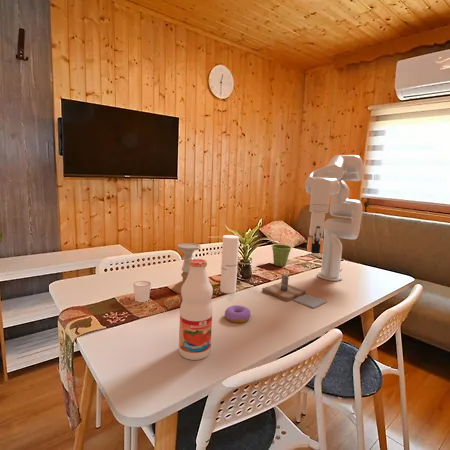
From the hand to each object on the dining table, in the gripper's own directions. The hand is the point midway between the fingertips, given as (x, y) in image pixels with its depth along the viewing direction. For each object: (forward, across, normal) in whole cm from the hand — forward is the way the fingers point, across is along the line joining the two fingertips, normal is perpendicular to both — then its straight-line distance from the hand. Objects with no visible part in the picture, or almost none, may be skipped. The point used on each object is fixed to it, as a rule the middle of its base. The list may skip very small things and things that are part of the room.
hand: (314, 250), depth 133 cm
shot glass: (+23, +21, -67) cm, 74 cm away
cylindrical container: (+23, -1, -36) cm, 43 cm away
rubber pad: (+22, 0, 0) cm, 22 cm away
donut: (+23, +25, -27) cm, 43 cm away
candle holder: (+23, +4, -54) cm, 59 cm away
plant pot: (+23, -52, -15) cm, 59 cm away
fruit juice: (+23, +51, -35) cm, 66 cm away
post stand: (+22, -6, -11) cm, 26 cm away
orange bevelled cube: (0, 0, 0) cm, 0 cm away
